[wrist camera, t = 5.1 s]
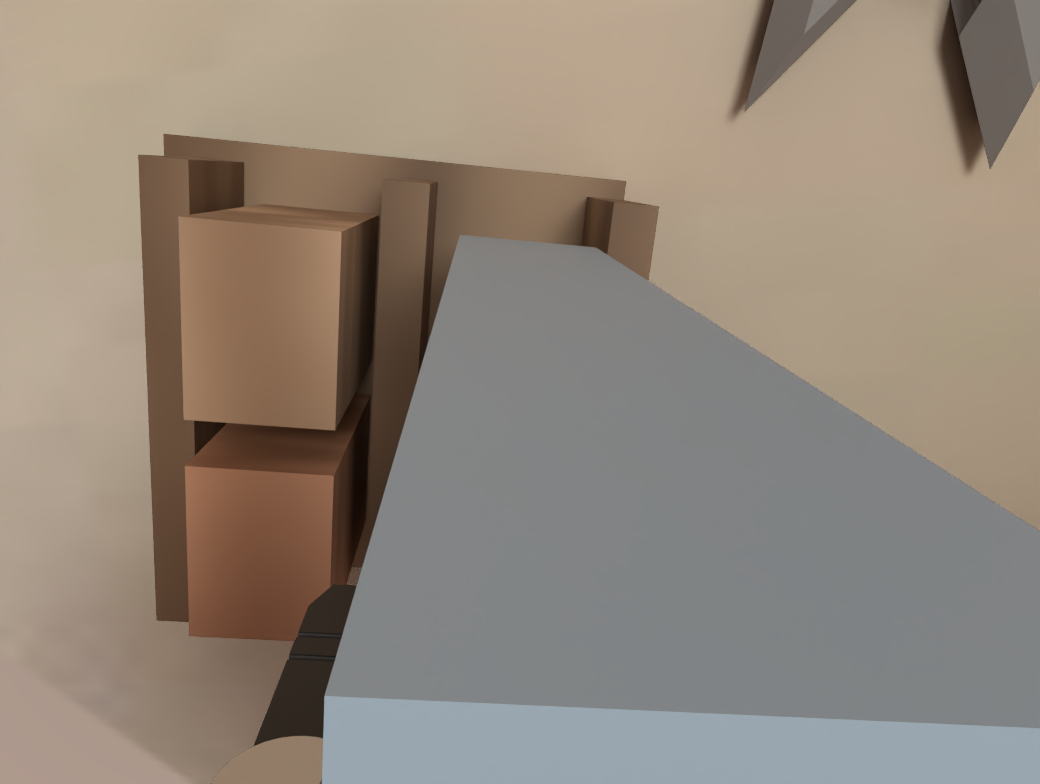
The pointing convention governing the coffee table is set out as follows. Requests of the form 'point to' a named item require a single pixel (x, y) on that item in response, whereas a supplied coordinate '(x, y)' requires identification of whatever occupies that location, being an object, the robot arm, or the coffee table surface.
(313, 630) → the robot arm
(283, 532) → the offcut
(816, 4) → the decorative piece
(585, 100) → the coffee table surface
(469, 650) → the tall board
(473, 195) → the rack
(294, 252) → the offcut
